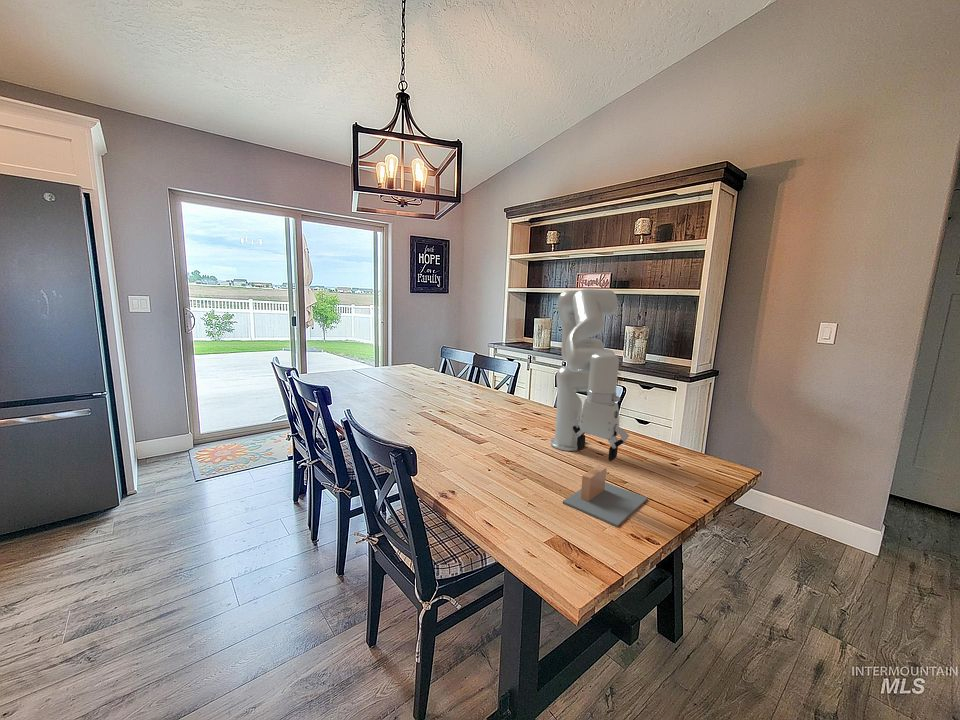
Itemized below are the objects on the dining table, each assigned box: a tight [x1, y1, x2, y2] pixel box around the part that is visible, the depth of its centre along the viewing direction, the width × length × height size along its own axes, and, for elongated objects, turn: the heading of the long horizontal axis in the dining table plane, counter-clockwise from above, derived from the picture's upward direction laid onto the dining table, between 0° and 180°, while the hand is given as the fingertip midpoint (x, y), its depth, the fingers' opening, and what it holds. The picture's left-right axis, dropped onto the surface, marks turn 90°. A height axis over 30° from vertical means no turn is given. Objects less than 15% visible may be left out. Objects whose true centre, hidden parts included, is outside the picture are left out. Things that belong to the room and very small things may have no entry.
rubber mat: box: [562, 481, 648, 528], centre depth 112 cm, size 20×16×1 cm
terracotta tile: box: [580, 465, 607, 502], centre depth 114 cm, size 10×2×7 cm, turn 137°
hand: (595, 454), depth 113 cm, fingers open, 9 cm apart
